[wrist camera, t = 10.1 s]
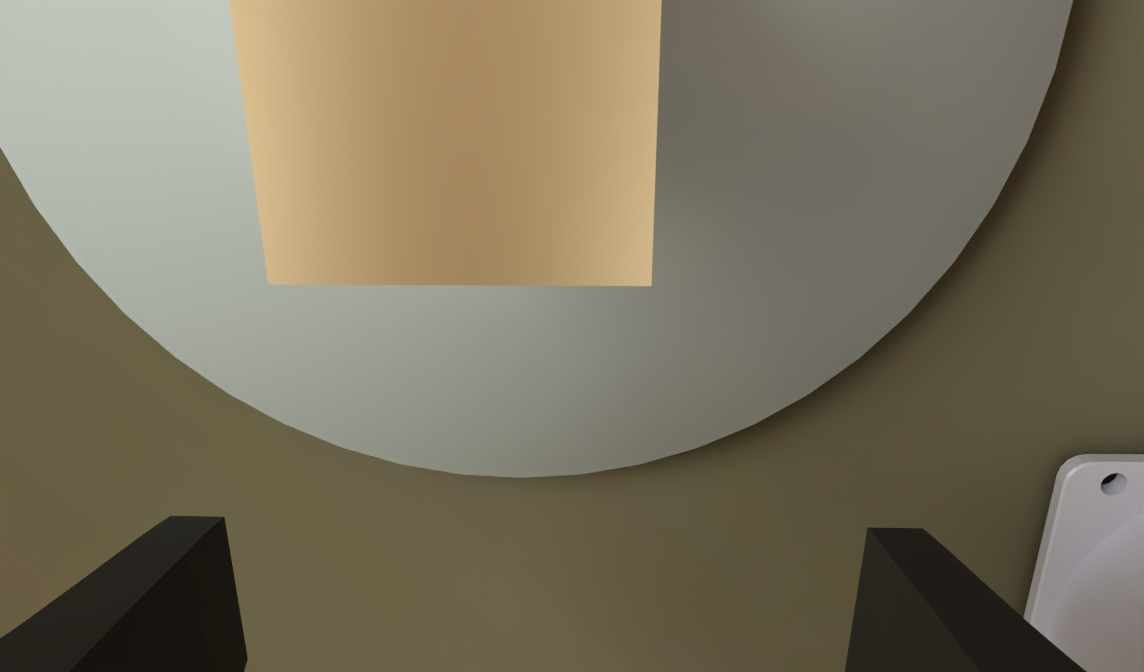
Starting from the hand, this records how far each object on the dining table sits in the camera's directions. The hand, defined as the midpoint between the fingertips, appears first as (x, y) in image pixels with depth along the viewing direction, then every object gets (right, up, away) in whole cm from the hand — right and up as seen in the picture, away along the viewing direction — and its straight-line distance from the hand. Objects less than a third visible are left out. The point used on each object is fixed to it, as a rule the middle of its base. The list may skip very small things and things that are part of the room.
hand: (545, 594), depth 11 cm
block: (-1, +8, +5) cm, 9 cm away
